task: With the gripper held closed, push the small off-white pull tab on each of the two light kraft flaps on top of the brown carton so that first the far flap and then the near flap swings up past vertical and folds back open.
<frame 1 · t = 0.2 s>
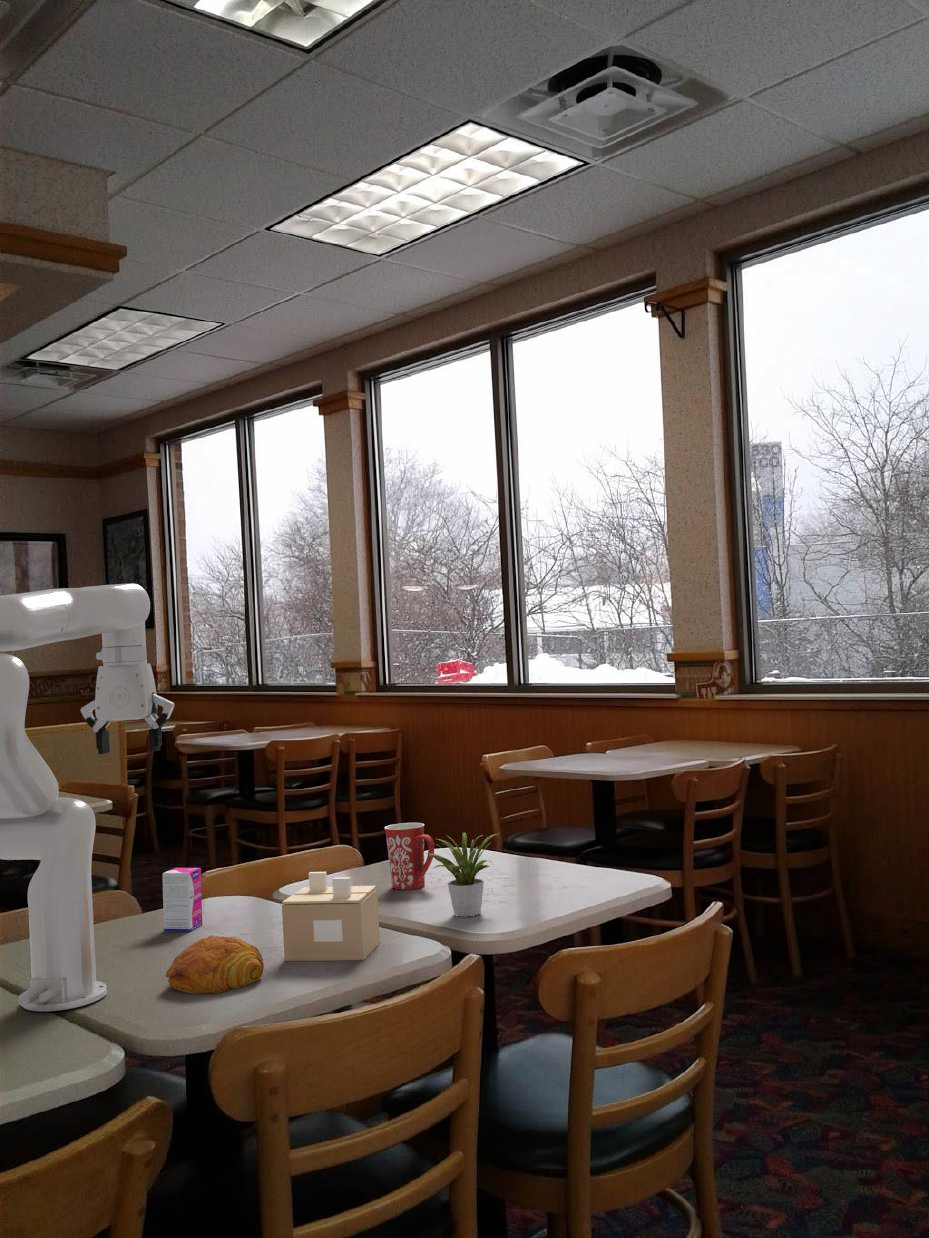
hand: (129, 752, 196), 37 cm above the table, fingers open, 9 cm apart
supplement box: (183, 929, 215), on the table
croissant: (214, 984, 177), on the table
mug: (413, 888, 241), on the table
flap near: (324, 889, 188), point 11 cm above the table, hinge at -0.1°
flap far: (334, 881, 195), point 11 cm above the table, hinge at -0.1°
house plant: (471, 913, 214), on the table
carton: (333, 951, 191), on the table
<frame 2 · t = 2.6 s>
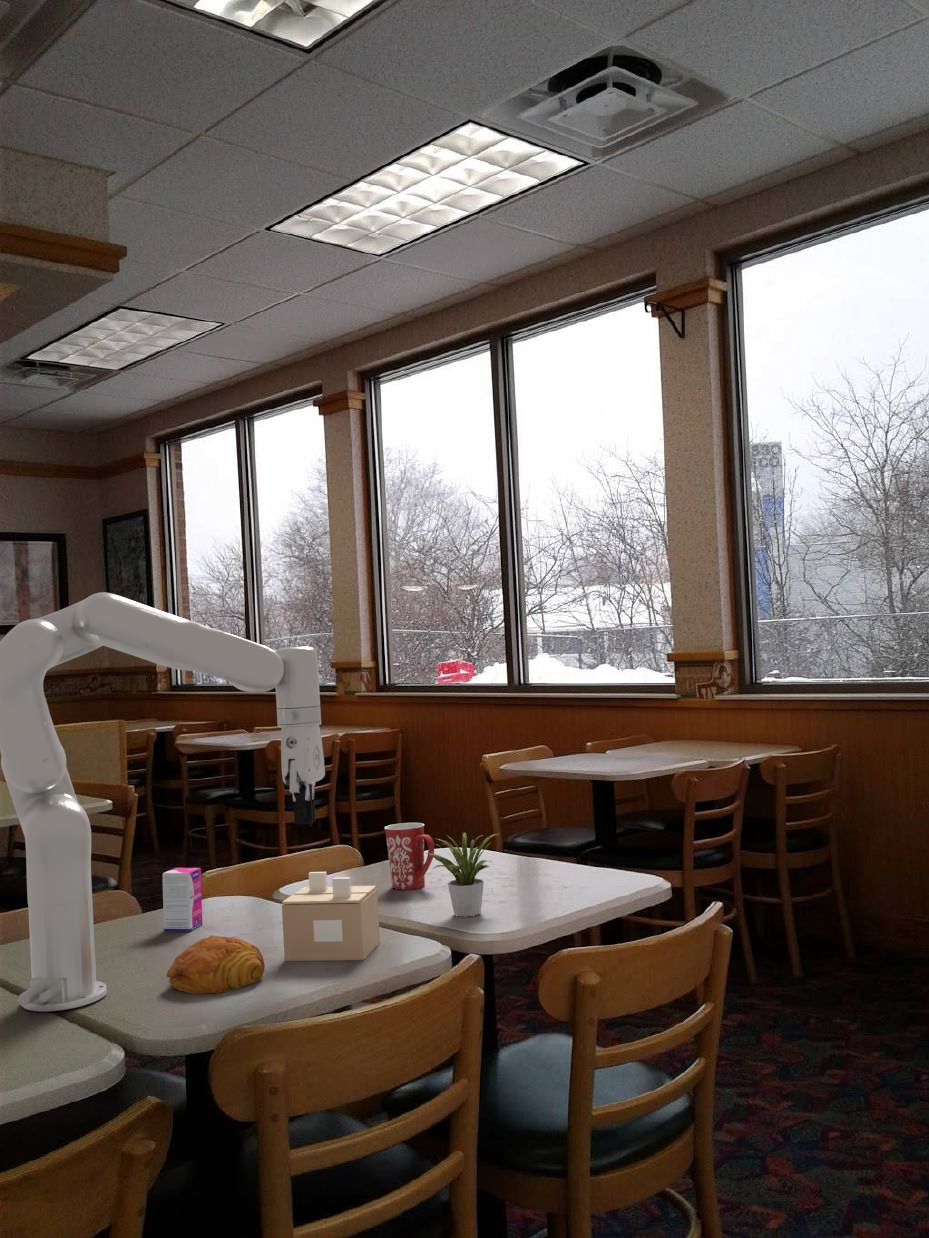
hand: (305, 823, 189), 23 cm above the table, fingers closed
nothing on the table moved.
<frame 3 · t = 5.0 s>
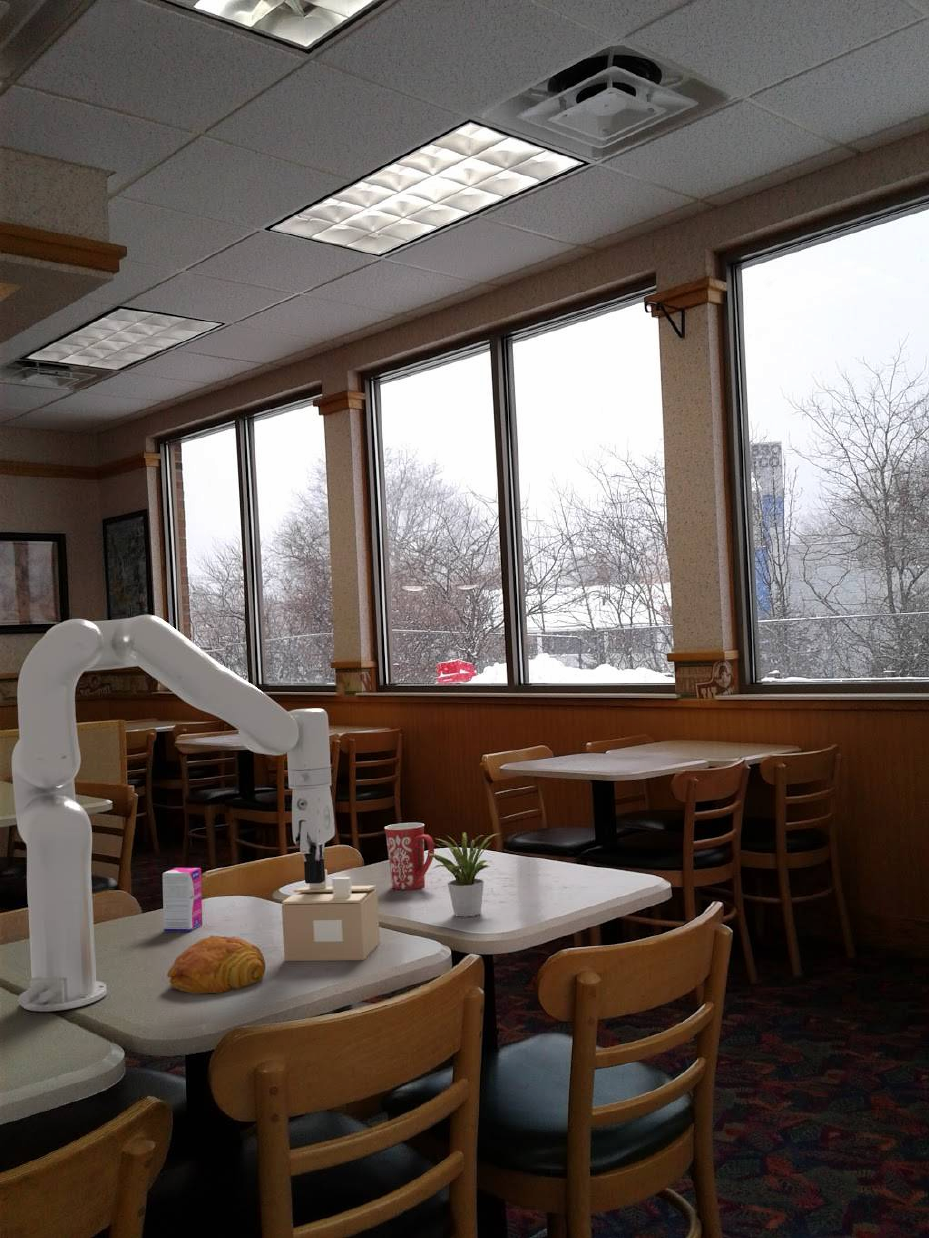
hand: (315, 882, 193), 12 cm above the table, fingers closed
flap far: (335, 879, 195), point 12 cm above the table, hinge at 6.7°, touching gripper
everything else where it was.
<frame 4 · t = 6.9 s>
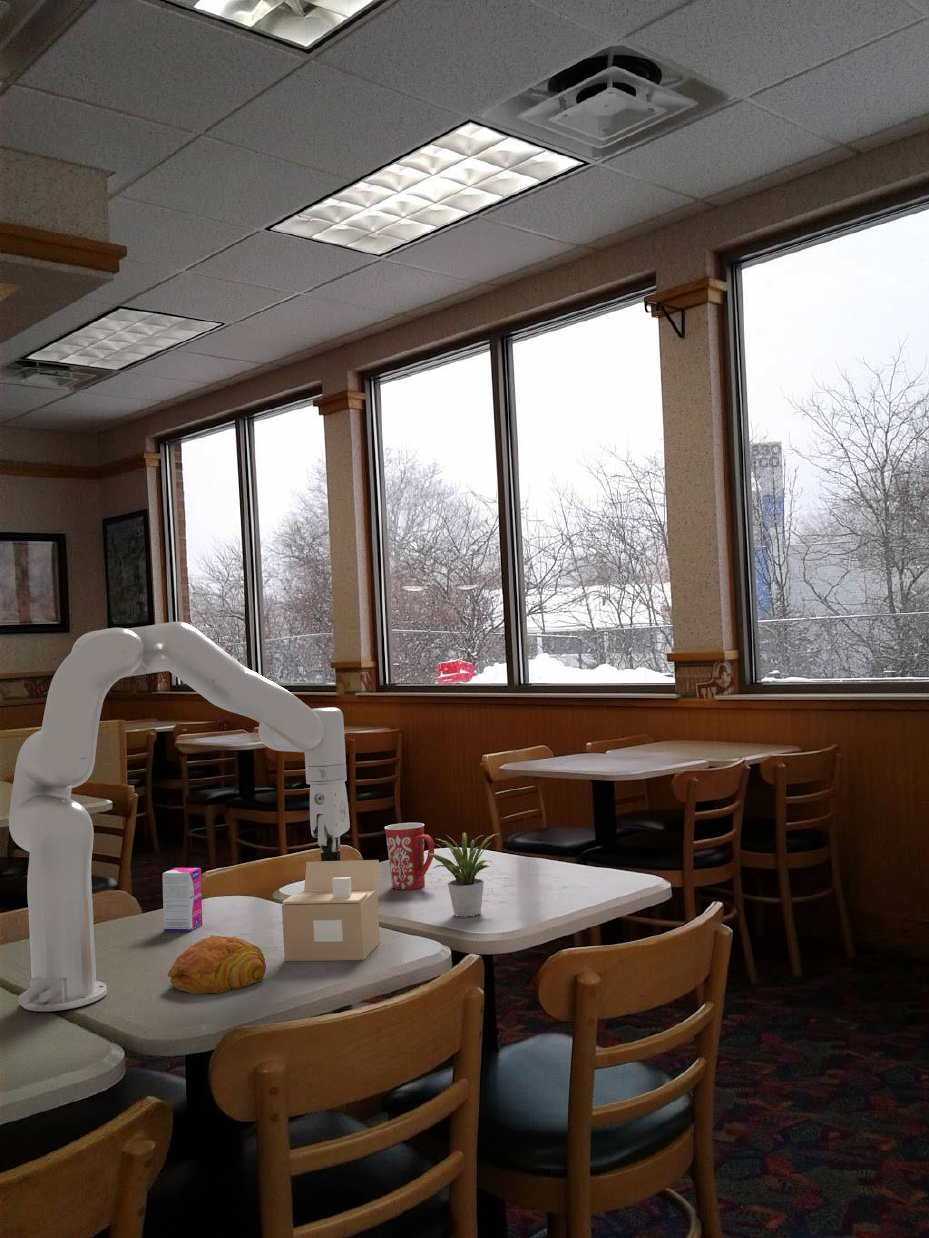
hand: (331, 873, 203), 12 cm above the table, fingers closed
flap far: (343, 877, 200), point 11 cm above the table, hinge at 115.5°
everything else where it was.
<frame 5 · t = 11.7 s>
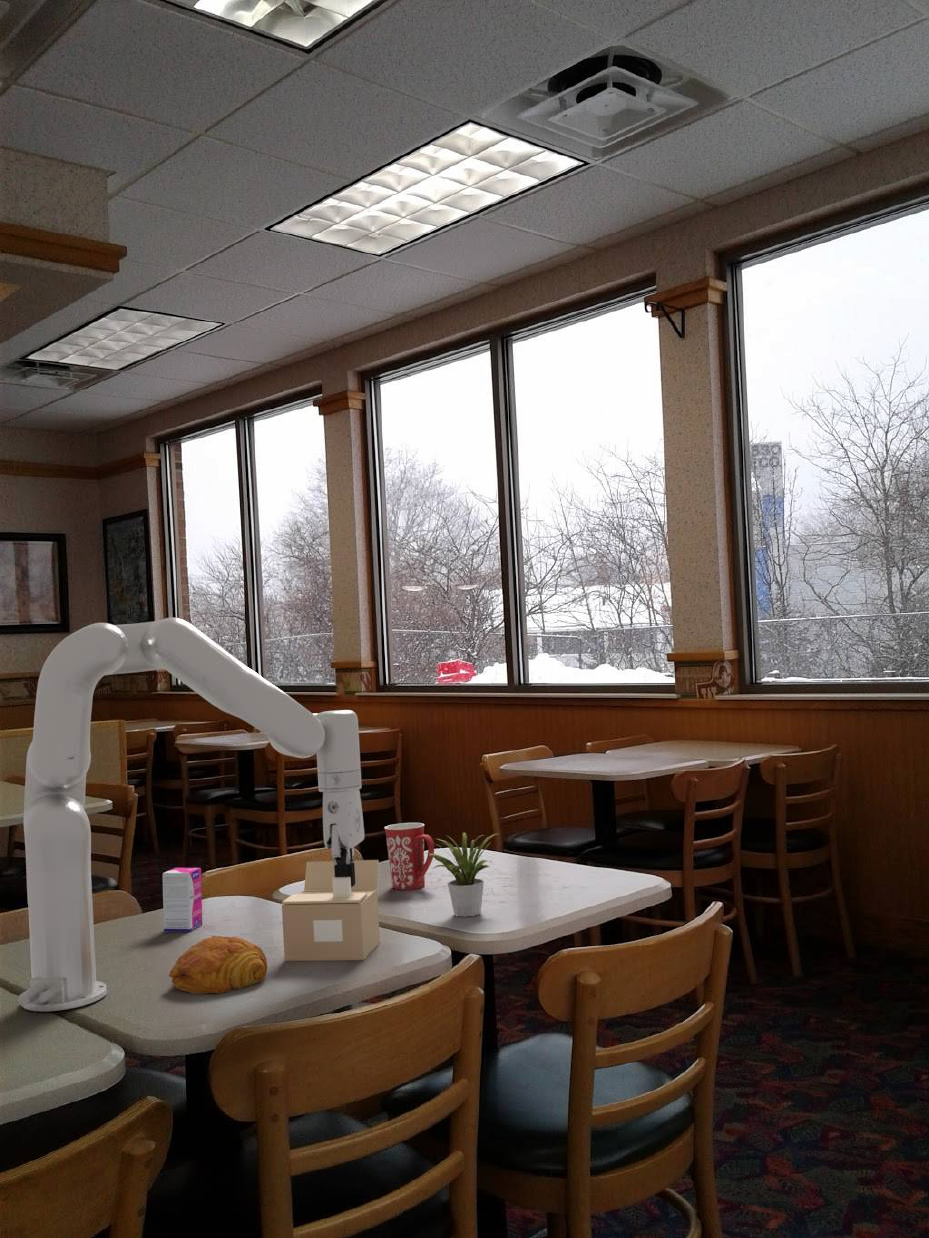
hand: (345, 886, 191), 11 cm above the table, fingers closed
flap near: (324, 889, 188), point 12 cm above the table, hinge at 1.0°, touching gripper
everything else where it was.
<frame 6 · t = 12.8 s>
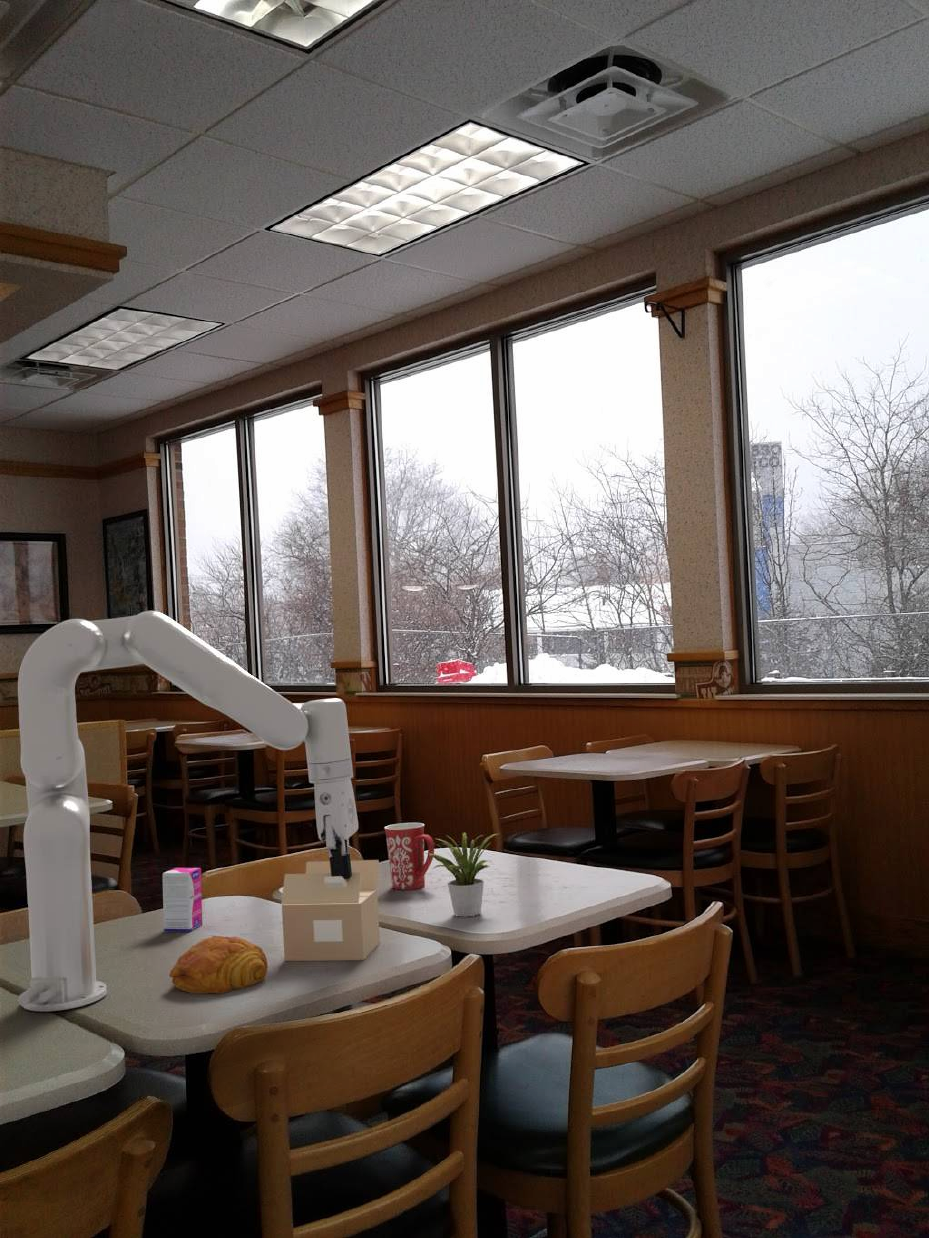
hand: (342, 878, 186), 14 cm above the table, fingers closed
flap near: (318, 885, 185), point 13 cm above the table, hinge at 60.2°, touching gripper
everything else where it was.
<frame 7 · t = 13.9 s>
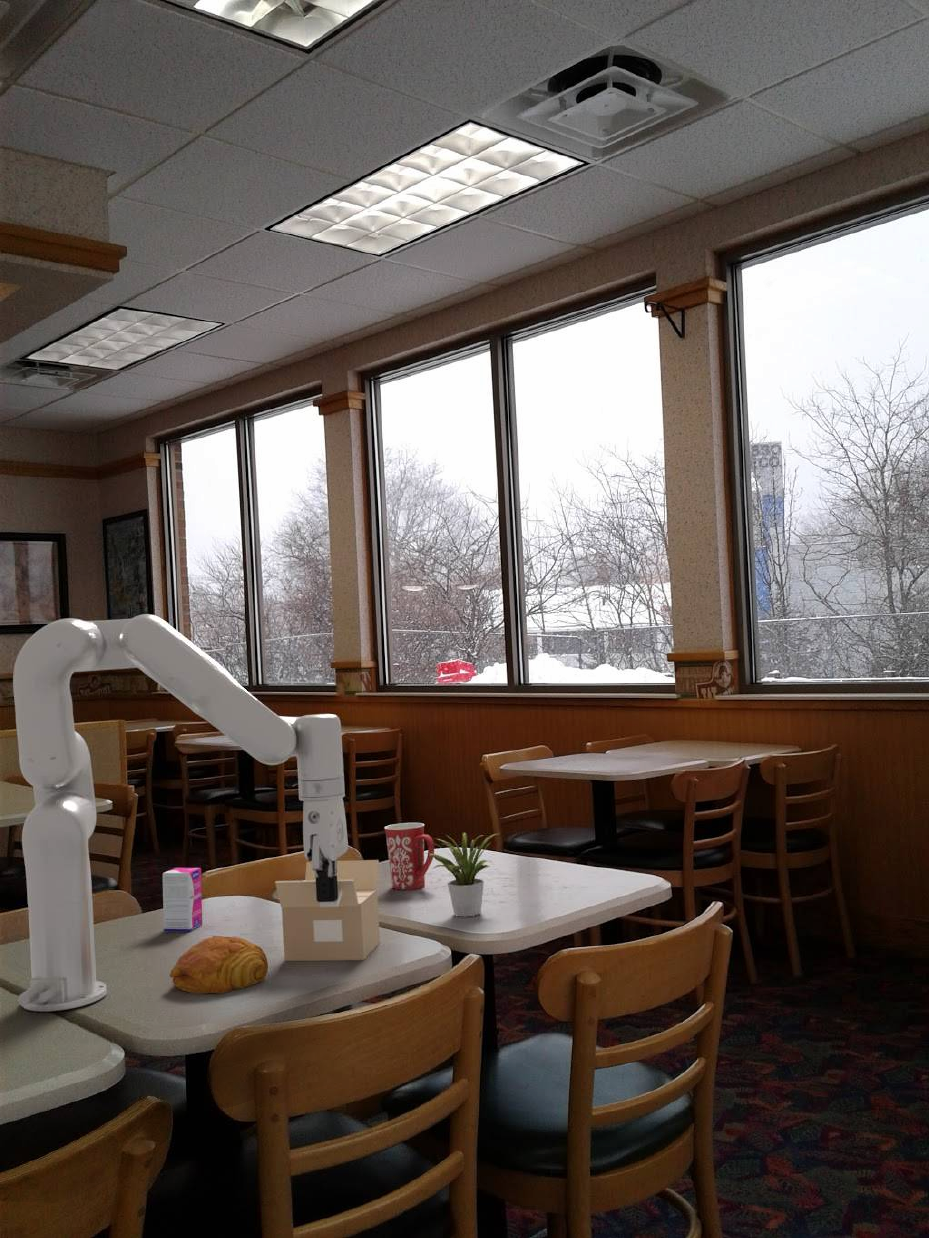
hand: (327, 900, 180), 11 cm above the table, fingers closed
flap near: (314, 899, 183), point 11 cm above the table, hinge at 116.1°
everything else where it was.
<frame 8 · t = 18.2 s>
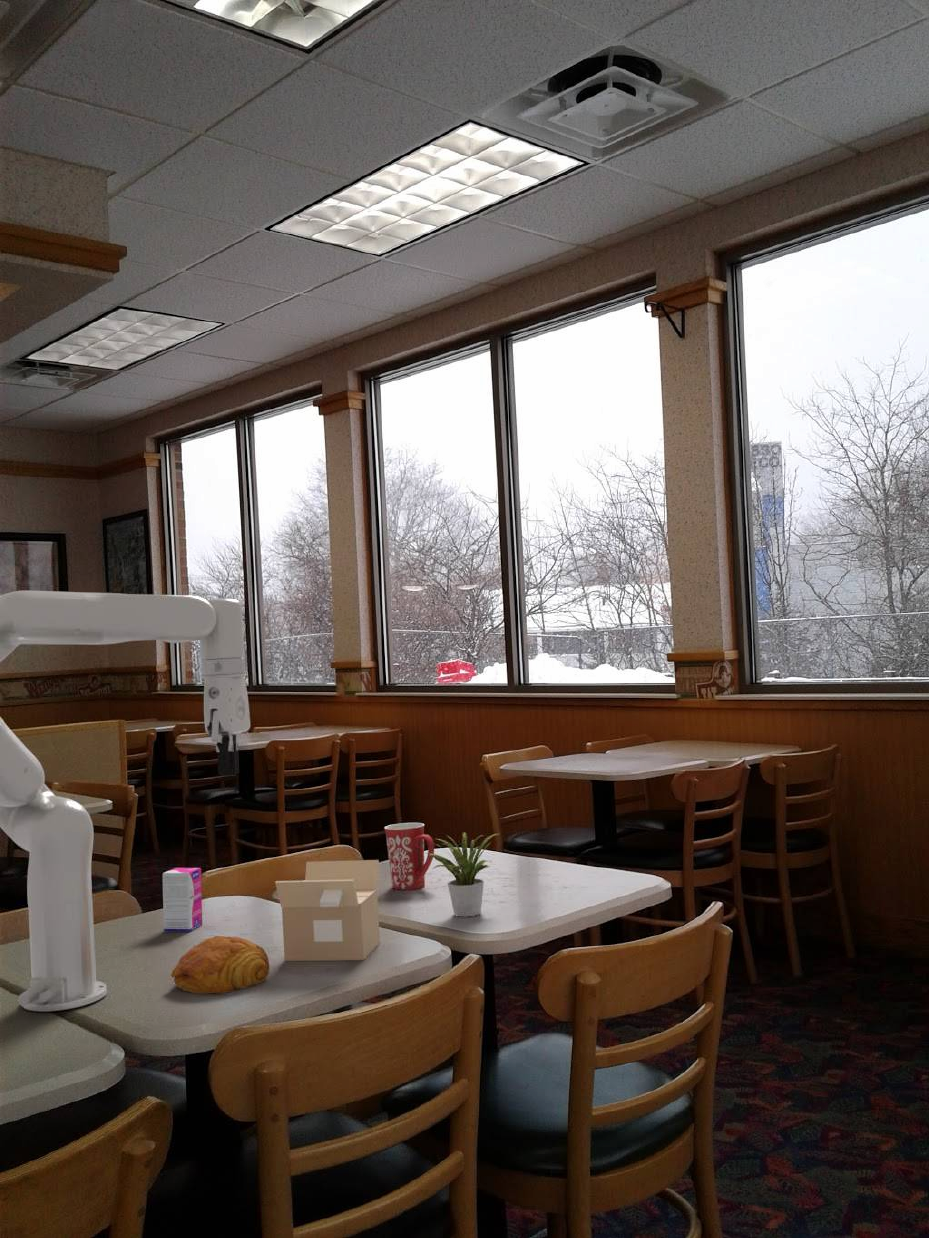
hand: (228, 773, 191), 32 cm above the table, fingers closed
nothing on the table moved.
at the end: flap far at +116° (first picture: +0°); flap near at +116° (first picture: +0°) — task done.
